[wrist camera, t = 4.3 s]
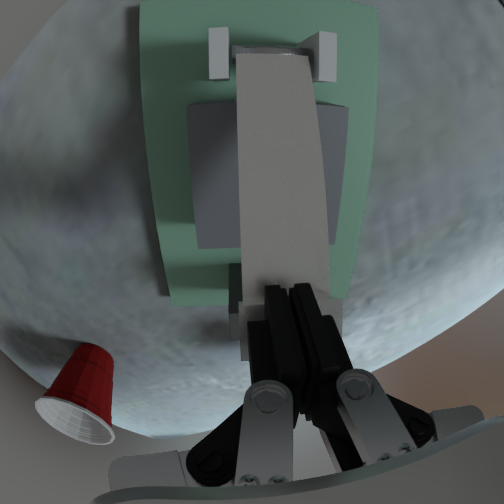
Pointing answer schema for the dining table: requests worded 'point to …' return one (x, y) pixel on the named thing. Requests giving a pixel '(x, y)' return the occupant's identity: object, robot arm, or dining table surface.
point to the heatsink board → (191, 82)
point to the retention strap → (280, 181)
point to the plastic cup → (82, 397)
